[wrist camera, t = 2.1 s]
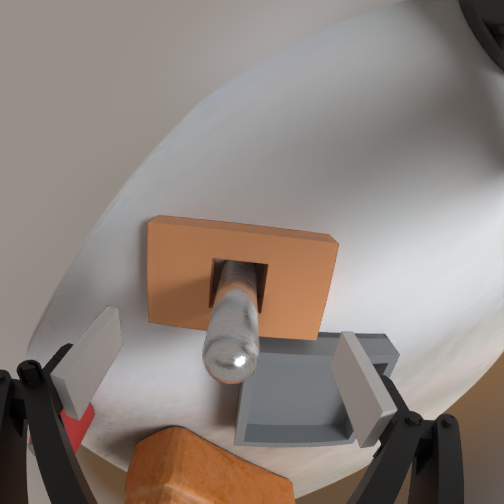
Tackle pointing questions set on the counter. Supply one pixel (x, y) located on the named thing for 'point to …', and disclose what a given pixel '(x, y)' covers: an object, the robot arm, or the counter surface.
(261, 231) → the orange block with hole
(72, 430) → the beer can
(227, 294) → the pin
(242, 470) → the bread
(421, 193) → the counter surface
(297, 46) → the counter surface
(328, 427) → the tray
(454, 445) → the robot arm
